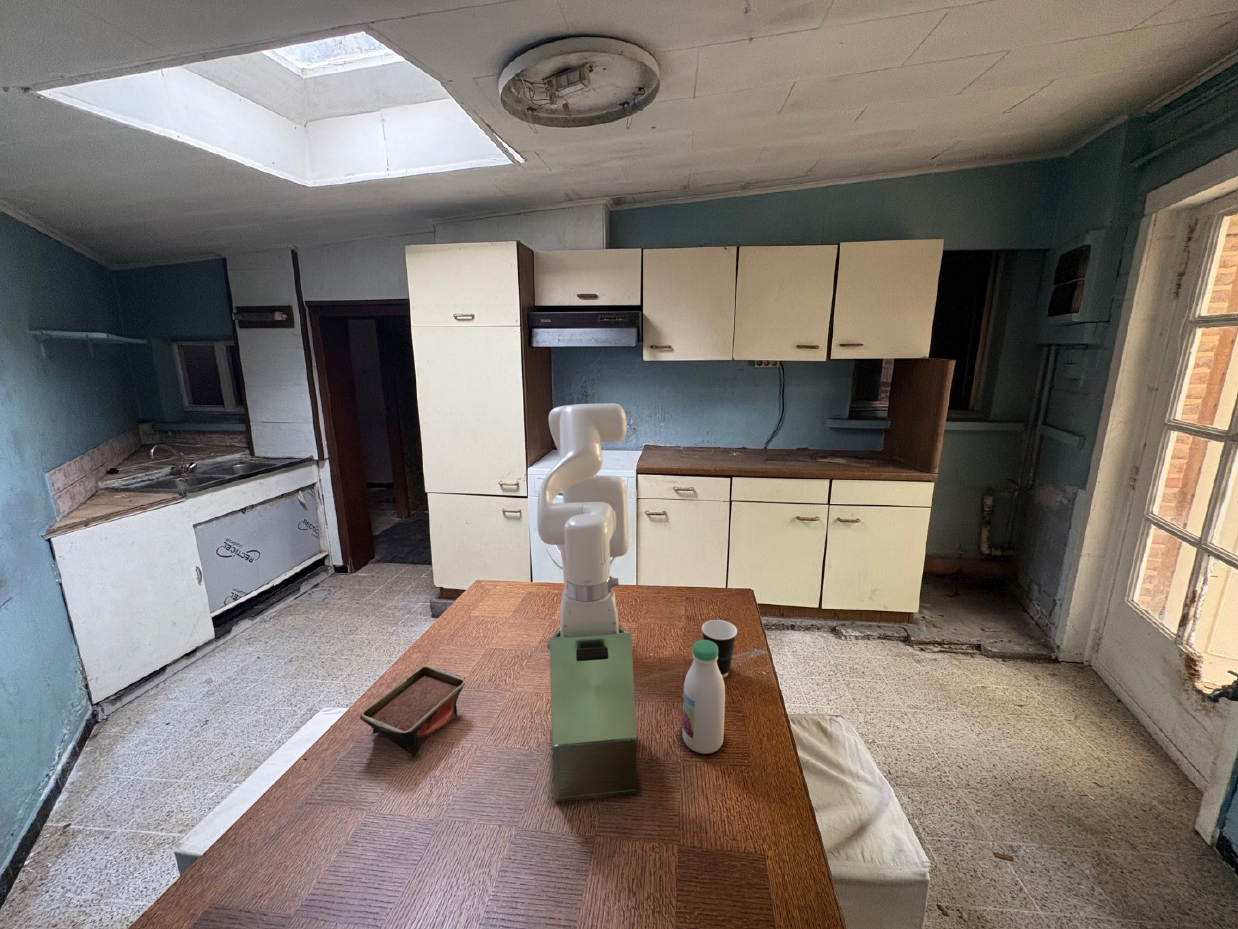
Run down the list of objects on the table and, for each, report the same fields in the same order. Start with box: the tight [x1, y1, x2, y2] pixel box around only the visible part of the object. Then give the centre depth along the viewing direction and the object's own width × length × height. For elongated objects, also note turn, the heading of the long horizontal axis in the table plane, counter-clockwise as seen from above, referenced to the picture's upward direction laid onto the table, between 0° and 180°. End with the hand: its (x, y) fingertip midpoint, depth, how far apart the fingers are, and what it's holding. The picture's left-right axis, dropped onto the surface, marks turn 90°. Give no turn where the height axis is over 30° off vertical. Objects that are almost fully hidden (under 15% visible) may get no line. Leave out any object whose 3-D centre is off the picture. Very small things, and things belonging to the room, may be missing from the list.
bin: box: [552, 737, 638, 803], centre depth 90 cm, size 16×14×11 cm
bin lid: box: [548, 631, 638, 746], centre depth 80 cm, size 16×14×5 cm
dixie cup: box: [701, 619, 738, 679], centre depth 114 cm, size 8×8×11 cm
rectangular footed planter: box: [359, 665, 466, 758], centre depth 99 cm, size 14×18×10 cm
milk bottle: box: [682, 639, 726, 755], centre depth 93 cm, size 8×8×20 cm
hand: (590, 677), depth 90 cm, fingers closed on energy drink, 5 cm apart
